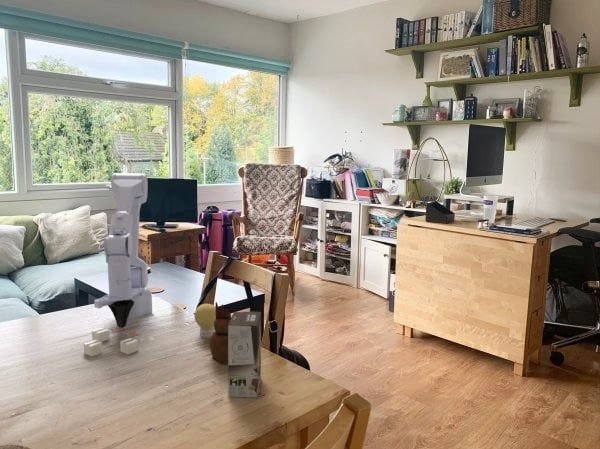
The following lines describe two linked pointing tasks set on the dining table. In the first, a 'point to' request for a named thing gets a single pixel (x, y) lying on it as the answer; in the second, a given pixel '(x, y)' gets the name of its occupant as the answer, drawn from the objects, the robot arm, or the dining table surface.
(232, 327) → the coffee box
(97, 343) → the slider middle
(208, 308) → the light bulb
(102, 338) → the slider
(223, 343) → the wooden figurine
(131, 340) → the slider
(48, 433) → the dining table surface
